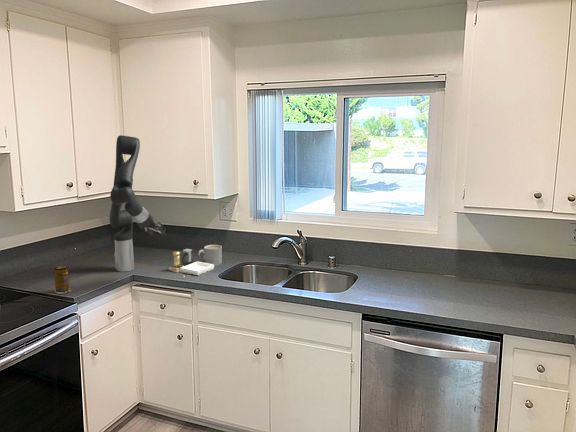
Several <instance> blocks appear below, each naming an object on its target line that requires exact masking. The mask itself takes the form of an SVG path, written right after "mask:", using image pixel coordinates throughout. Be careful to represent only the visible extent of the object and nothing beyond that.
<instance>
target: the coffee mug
mask: <svg viewBox="0 0 576 432" xmlns="http://www.w3.org/2000/svg"><path fill="white" fill-rule="evenodd" d="M222 247H223V246H222V245H220V244H209V245H205V246H204V247H203V249H200V250H199V251H198V255H197V256H198V259H200V260H201V261H202V262H203V263H209V264H214V267H217V266H218V267H220V266H221V265H222V264H223V248H222ZM201 254H203V257H202V255H201Z"/></svg>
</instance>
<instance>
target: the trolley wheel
mask: <svg viewBox="0 0 576 432" xmlns="http://www.w3.org/2000/svg"><path fill="white" fill-rule="evenodd" d="M192 251H193V249H191V248H185V249H182V253H183V256H182V257H181V264H182V266H187V265H189V264H192V263H194V256H193V255H192Z"/></svg>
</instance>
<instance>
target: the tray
mask: <svg viewBox="0 0 576 432" xmlns="http://www.w3.org/2000/svg"><path fill="white" fill-rule="evenodd" d="M214 269H215V266H214V264H209V263H205V262H204V261H197V260H196V261H195V262H194V261H193V263H192V264H189V265H187V266H184V267H181V268H180V272H179V273H181V274H186V273H187V274H188V275H191V274H193V276H196V275H198V276H200V274H201V275H203V274H205V273H208V272H210V271H212V270H214ZM207 271H208V272H207ZM202 273H203V274H202Z"/></svg>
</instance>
